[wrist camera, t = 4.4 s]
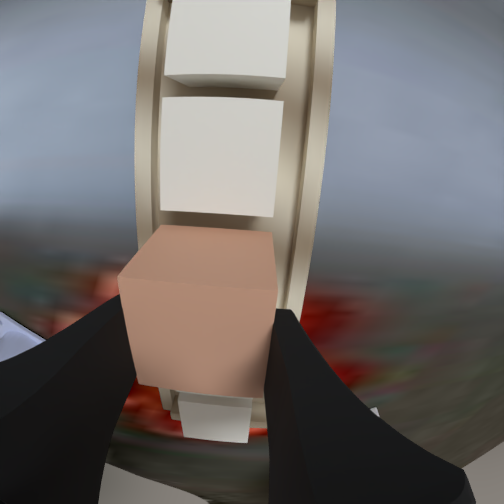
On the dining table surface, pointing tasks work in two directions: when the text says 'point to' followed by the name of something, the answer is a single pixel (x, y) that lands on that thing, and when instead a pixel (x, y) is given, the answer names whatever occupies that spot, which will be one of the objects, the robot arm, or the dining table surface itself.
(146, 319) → the block terracotta
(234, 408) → the cream block
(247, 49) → the cream block
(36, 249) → the dining table surface
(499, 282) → the dining table surface
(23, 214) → the dining table surface
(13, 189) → the dining table surface
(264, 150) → the cream block
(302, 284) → the rack
